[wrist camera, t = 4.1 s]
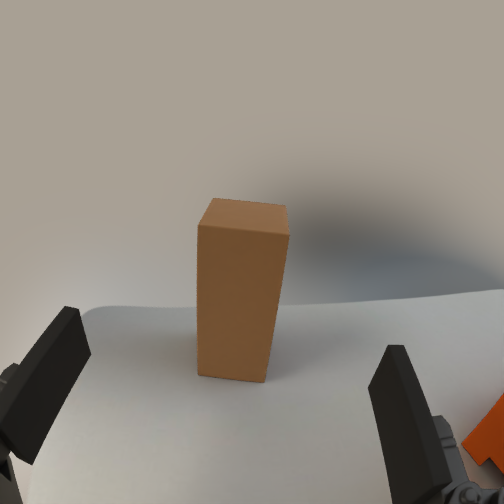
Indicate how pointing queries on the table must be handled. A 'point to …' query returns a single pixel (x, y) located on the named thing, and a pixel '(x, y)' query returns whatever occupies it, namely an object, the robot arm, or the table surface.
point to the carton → (239, 286)
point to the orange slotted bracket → (488, 437)
